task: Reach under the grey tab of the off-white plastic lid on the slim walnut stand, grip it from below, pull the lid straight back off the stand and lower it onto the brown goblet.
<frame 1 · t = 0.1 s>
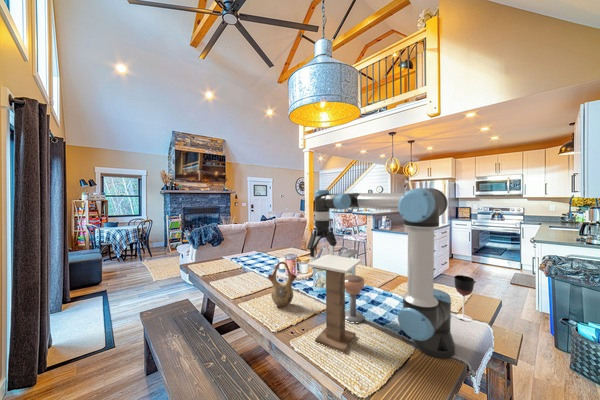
hand: (322, 260, 126), 28 cm above the table, tool pointing down, fingers open, 13 cm apart
ceramic vessel: (282, 306, 135), on the table
brown goblet: (353, 318, 121), on the table
lid: (335, 263, 103), point 33 cm above the table, touching stand
stand: (335, 339, 104), on the table
wineglass: (463, 318, 120), on the table
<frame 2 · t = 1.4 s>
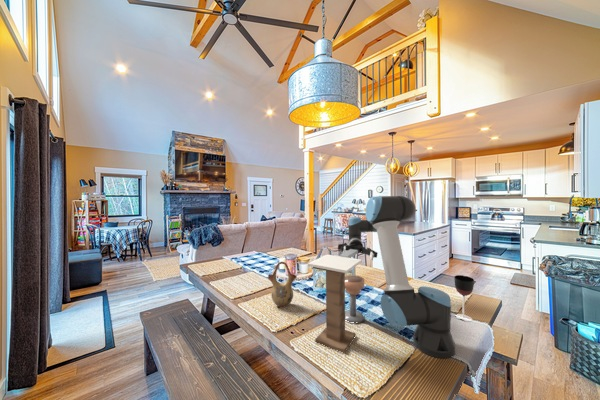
hand: (358, 254, 118), 33 cm above the table, tool horizontal, fingers open, 13 cm apart
nothing on the table moved.
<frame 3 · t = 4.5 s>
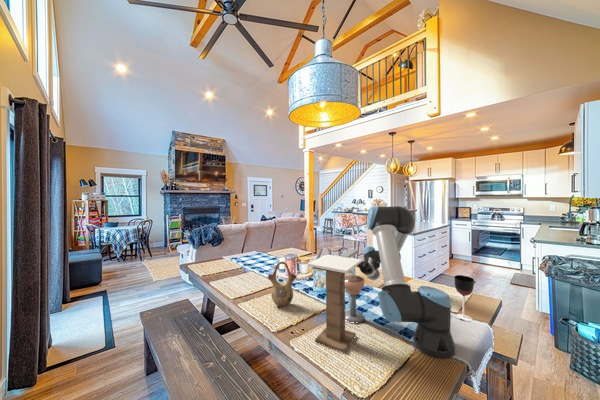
hand: (356, 258, 124), 29 cm above the table, tool pointing upward, fingers open, 13 cm apart
nothing on the table moved.
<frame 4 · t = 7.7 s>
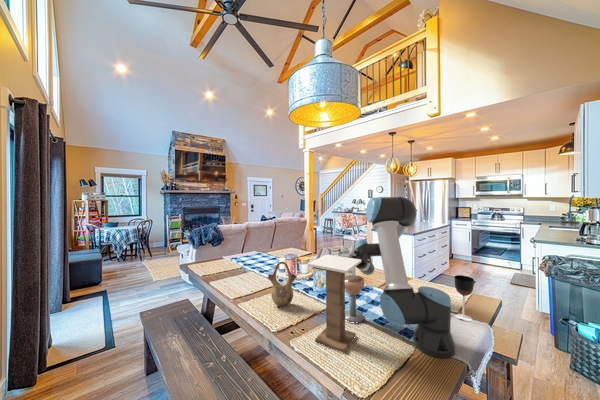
hand: (346, 248, 113), 37 cm above the table, tool pointing upward, fingers closed on lid, 4 cm apart
lid: (335, 263, 103), point 33 cm above the table, touching gripper, stand
everything else where it was.
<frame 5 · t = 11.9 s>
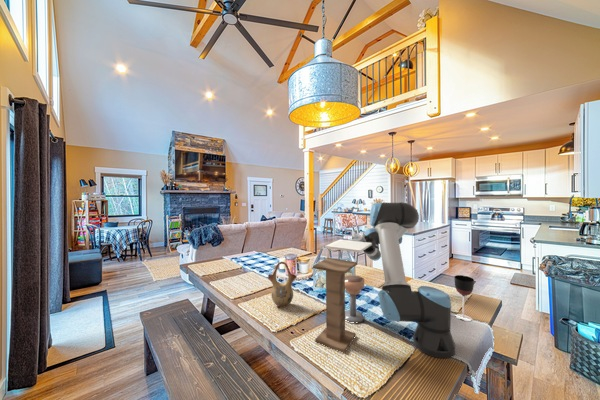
hand: (357, 234, 126), 41 cm above the table, tool pointing upward, fingers closed on lid, 4 cm apart
lid: (349, 246, 116), point 37 cm above the table, touching gripper
everything else where it was.
when the fingers open (26 cm above the table, at t = 16.5 s): lid drops 3 cm, resting on brown goblet.
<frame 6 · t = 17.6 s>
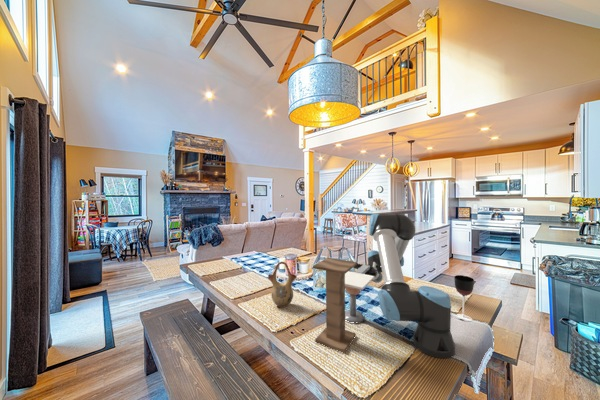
hand: (361, 262, 130), 25 cm above the table, tool pointing upward, fingers open, 13 cm apart
lid: (351, 280, 119), point 20 cm above the table, touching brown goblet
everything else where it was.
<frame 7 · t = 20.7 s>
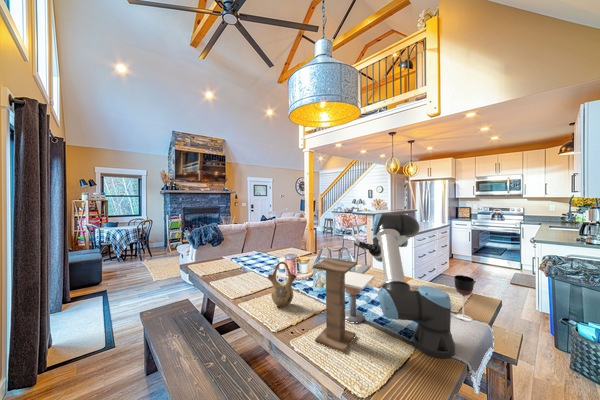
hand: (367, 240, 138), 35 cm above the table, tool pointing upward, fingers open, 13 cm apart
nothing on the table moved.
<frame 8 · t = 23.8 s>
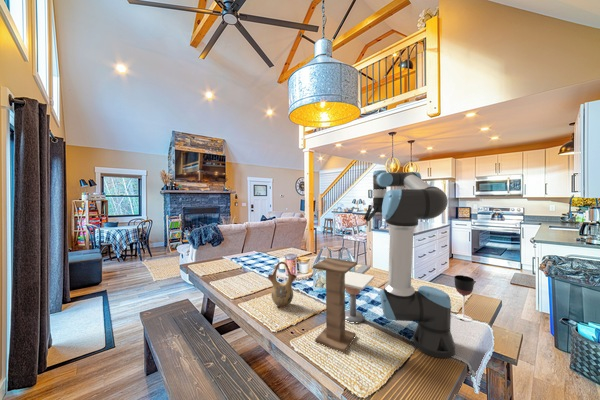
hand: (379, 233, 142), 39 cm above the table, tool pointing down, fingers open, 13 cm apart
nothing on the table moved.
at the end: lid inside the target area on the brown goblet (0.2 cm from its centre), point 20.0 cm above the brown goblet's base; lid tilted 0°; the gripper is holding nothing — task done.
